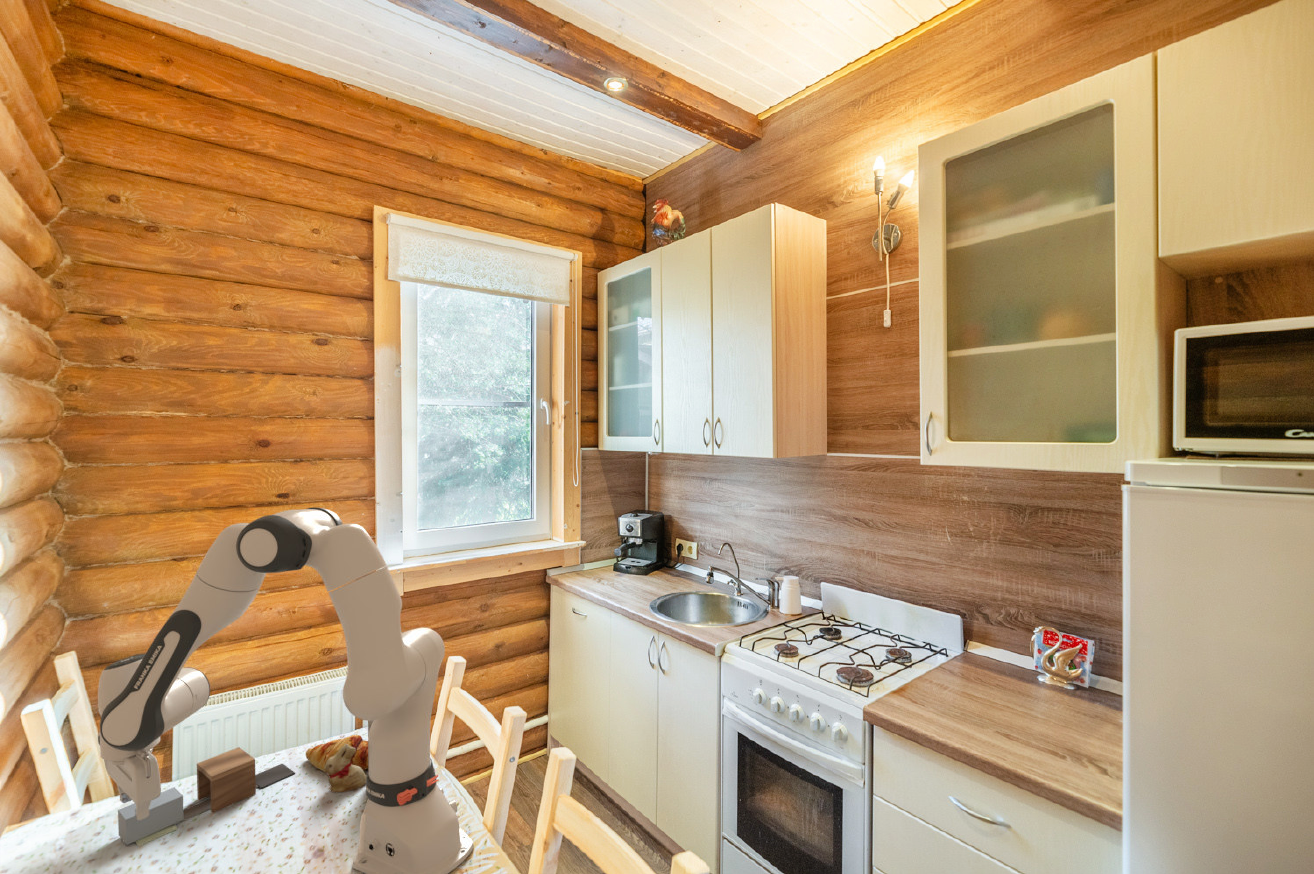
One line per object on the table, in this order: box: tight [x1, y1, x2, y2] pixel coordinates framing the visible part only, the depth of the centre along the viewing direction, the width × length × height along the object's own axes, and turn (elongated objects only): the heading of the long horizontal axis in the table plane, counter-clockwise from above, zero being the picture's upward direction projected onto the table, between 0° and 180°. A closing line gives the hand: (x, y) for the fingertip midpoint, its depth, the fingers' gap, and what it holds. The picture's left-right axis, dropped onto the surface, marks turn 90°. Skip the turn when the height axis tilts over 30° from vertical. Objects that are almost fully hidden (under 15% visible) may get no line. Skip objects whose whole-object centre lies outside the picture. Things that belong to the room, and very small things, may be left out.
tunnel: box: [134, 746, 296, 847], centre depth 129 cm, size 8×28×8 cm, turn 145°
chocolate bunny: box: [324, 744, 367, 793], centre depth 134 cm, size 6×8×10 cm
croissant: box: [305, 734, 368, 774], centre depth 143 cm, size 21×10×8 cm, turn 81°
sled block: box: [117, 787, 185, 846], centre depth 120 cm, size 5×9×5 cm, turn 145°
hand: (134, 808), depth 118 cm, fingers open, 8 cm apart
